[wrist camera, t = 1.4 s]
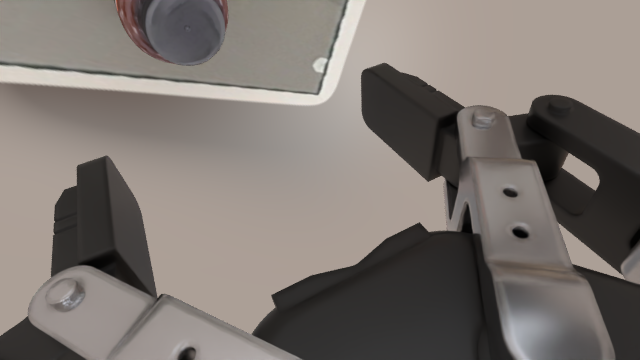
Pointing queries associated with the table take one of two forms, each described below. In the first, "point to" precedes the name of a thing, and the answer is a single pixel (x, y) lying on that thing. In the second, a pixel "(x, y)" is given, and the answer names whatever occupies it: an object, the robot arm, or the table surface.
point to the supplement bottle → (175, 28)
